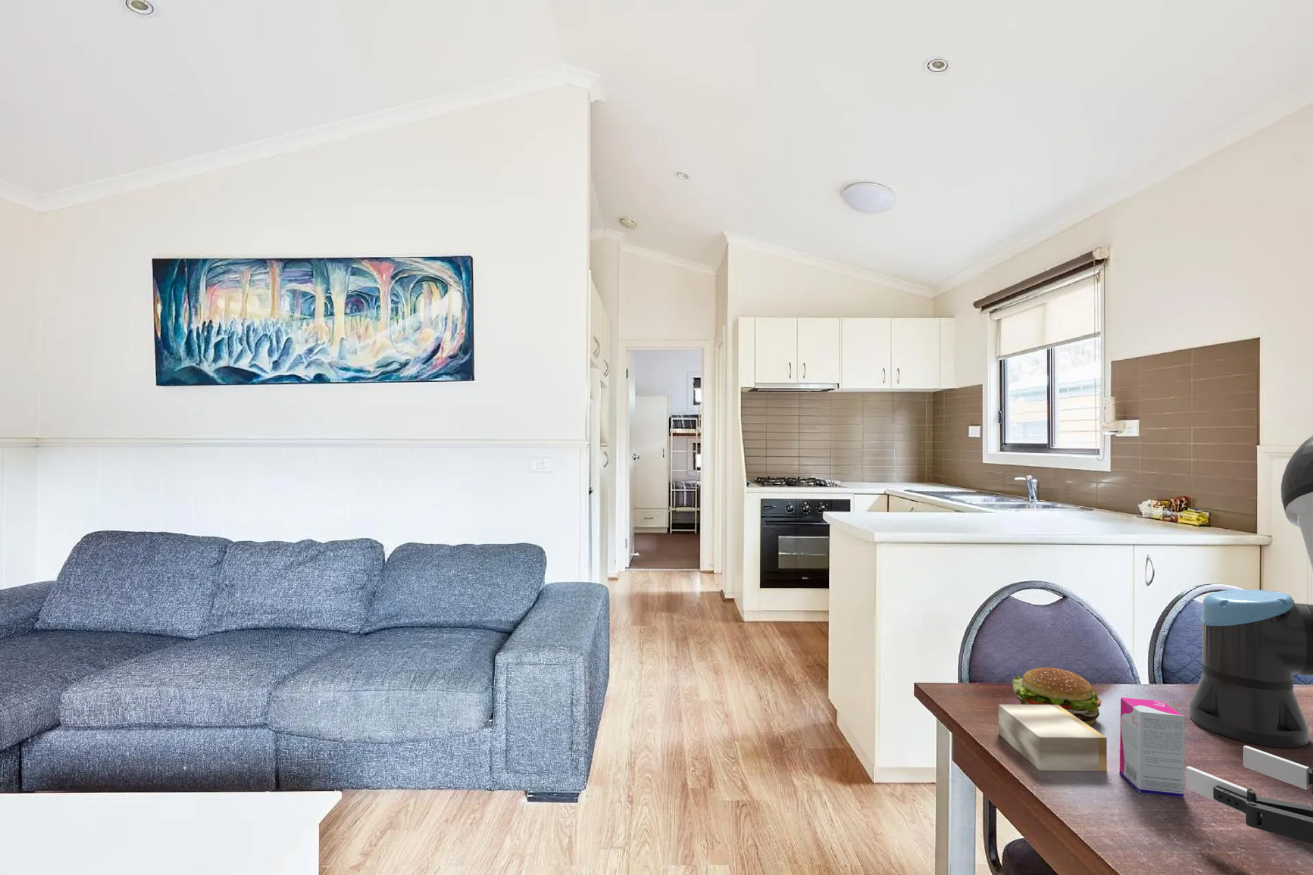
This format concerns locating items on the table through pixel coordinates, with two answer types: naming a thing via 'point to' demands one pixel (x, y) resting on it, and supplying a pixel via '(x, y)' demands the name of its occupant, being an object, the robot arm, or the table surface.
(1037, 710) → the block
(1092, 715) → the food
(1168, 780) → the supplement box
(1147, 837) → the table surface
